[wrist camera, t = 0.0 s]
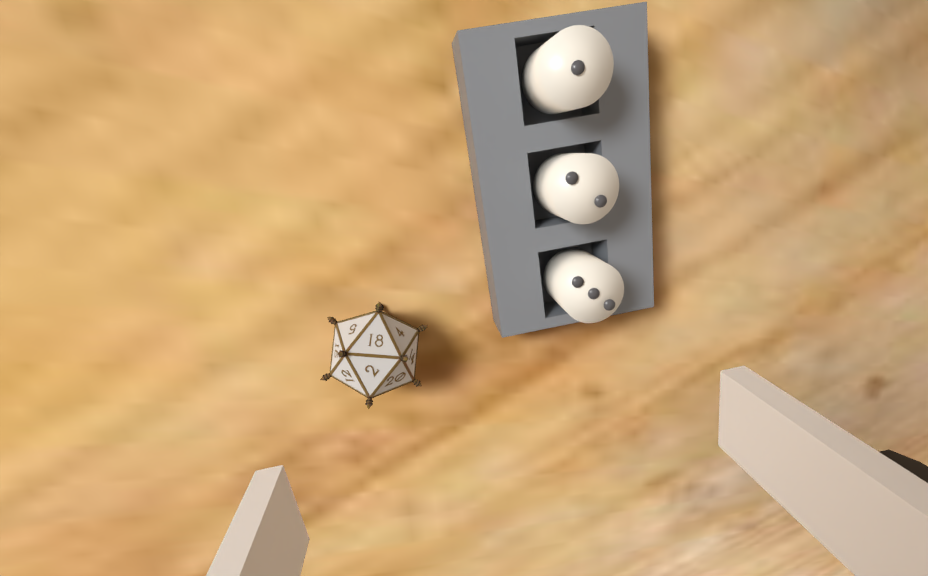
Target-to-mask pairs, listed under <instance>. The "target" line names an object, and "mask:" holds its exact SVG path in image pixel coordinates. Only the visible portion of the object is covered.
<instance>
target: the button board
mask: <svg viewBox="0 0 928 576" xmlns="http://www.w3.org/2000/svg"><path fill="white" fill-rule="evenodd" d="M574 25H585V26H589V27H591V28H594V29H595V30H597V31H598V32H600V33H601V34H602V35H603V36H604V37H605V39H606V40H607V42H608V43H609V45H610V48H611V50H612V54H613V61H614V68H613V74H612V78H611V81H610V84H609V86H608V88H607V89H606V91H605V92H604V94H603V95H602V96H601V97H600V98H599V99H598V100H597V101H595V102H594V103H593V104H591V105H589V106H586V107H583V108H579V109H575V110H570V111H566V112H562V113H558V114H546V113H542V112H540V111H538V110H536V109H535V108H534V107H533V106H532V105H531V104H530V103H529V102H528V100H527V99H526V97H525V95H524V92H523V88H522V72H523V68H524V65H525V63H526V61H527V59H528V58H529V56H530V55H531V54H532V53H533V52H534V51H535V50H536V49H538V48H539V47H540V46H541V45H543V44H544V43H545V42H547V41H548V40H549V39H550V38H552V37H553V36H554V35H556V34H557V33H558V32H560V31H561V30H563V29H565V28H567V27H569V26H574ZM452 48H453V54H454V61H455V68H456V74H457V81H458V87H459V94H460V101H461V107H462V114H463V121H464V127H465V134H466V140H467V147H468V154H469V160H470V167H471V173H472V180H473V187H474V193H475V200H476V207H477V213H478V220H479V226H480V233H481V240H482V246H483V253H484V259H485V266H486V273H487V279H488V286H489V293H490V299H491V306H492V312H493V319H494V322H495V324H496V326H497V328H498V330H499V332H500V334H501V336H502V337H507V336H512V335H517V334H522V333H527V332H532V331H537V330H542V329H547V328H552V327H557V326H562V325H567V324H572V323H576V322H579V321H577V320H575V319H573V318H572V317H571V316H570V315H569V314H568V313H567V312H566V311H565V310H564V309H563V308H562V307H561V306H560V305H559V304H558V303H557V302H556V301H555V300H554V299H553V298H552V297H551V296H550V295H549V294H548V292H547V291H546V289H545V286H544V282H543V274H544V270H545V267H546V265H547V263H548V262H549V260H550V259H551V258H552V257H553V256H554V255H555V254H557V253H558V252H560V251H562V250H564V249H568V248H578V249H582V250H584V251H586V252H588V253H590V254H592V255H593V256H595V257H597V258H599V259H600V260H602V261H604V262H606V263H607V264H609V265H611V266H613V267H614V268H615V269H616V270H617V271H618V272H619V273H620V275H621V277H622V279H623V283H624V295H623V298H622V301H621V303H620V305H619V307H618V308H617V309H616V311H615V312H614V313H613V314H612V315H616V314H621V313H626V312H631V311H636V310H641V309H646V308H650V307H654V285H653V243H652V201H651V160H650V118H649V76H648V34H647V2H642V3H635V4H629V5H622V6H616V7H609V8H602V9H596V10H589V11H583V12H576V13H570V14H563V15H557V16H550V17H544V18H537V19H531V20H524V21H517V22H511V23H504V24H498V25H491V26H485V27H478V28H472V29H465V30H459V31H457V33H456V35H455V38H454V40H453V42H452ZM559 153H593V154H597V155H600V156H602V157H604V158H606V159H607V160H609V161H610V162H611V163H612V165H613V166H614V168H615V170H616V172H617V174H618V178H619V193H618V197H617V200H616V202H615V204H614V206H613V207H612V209H611V210H610V211H609V212H608V213H607V214H606V215H605V216H604V217H603V218H601V219H600V220H598V221H596V222H593V223H590V224H575V223H572V222H570V221H568V220H565V219H563V218H561V217H558V216H556V215H554V214H552V213H549V212H547V211H546V210H544V209H543V208H542V207H541V206H540V205H539V203H538V202H537V200H536V198H535V195H534V191H533V182H534V177H535V174H536V172H537V170H538V168H539V167H540V165H541V164H542V163H543V162H544V161H545V160H546V159H548V158H549V157H551V156H553V155H555V154H559ZM610 316H611V315H610Z"/></svg>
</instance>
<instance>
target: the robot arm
mask: <svg viewBox="0 0 928 576" xmlns="http://www.w3.org/2000/svg"><path fill="white" fill-rule="evenodd" d="M718 446H719V447H720V448H721V449H722V450H723V451H724V452H726V453H727V454H728V455H729V456H730V457H731V458H732V459H733V460H734V461H735V462H736V463H737V464H738V465H739V466H740V467H741V468H742V469H743V470H744V471H745V472H747V473H748V474H749V475H750V476H751V477H752V478H753V479H754V480H755V481H756V482H757V483H758V484H759V485H760V486H761V487H762V488H763V489H764V490H765V491H767V492H768V493H769V494H770V495H771V496H772V497H773V498H774V499H775V500H776V501H777V502H778V503H779V504H780V505H781V506H782V507H783V508H784V509H785V510H786V511H788V512H789V513H790V514H791V515H792V516H793V517H794V518H795V519H796V520H797V521H798V522H799V523H800V524H801V525H802V526H803V527H804V528H805V529H806V530H808V531H809V532H810V533H811V534H812V535H813V536H814V537H815V538H816V539H817V540H818V541H819V542H820V543H821V544H822V545H823V546H824V547H825V548H826V549H827V550H829V551H830V552H831V553H832V554H833V555H834V556H835V557H836V558H837V559H838V560H839V561H840V562H841V563H842V564H843V565H844V566H845V567H846V568H847V569H849V570H850V571H851V572H852V573H853V574H854V575H855V576H928V467H927V466H926V465H924V464H922V463H921V462H918V461H916V460H913V459H911V458H908V457H906V456H903V455H901V454H898V453H896V452H893V451H891V450H885V451H881V452H878V451H877V450H875V449H874V448H872V447H871V446H869V445H867V444H866V443H864V442H863V441H861V440H860V439H858V438H856V437H855V436H853V435H852V434H850V433H849V432H847V431H846V430H844V429H842V428H841V427H839V426H838V425H836V424H835V423H833V422H832V421H830V420H828V419H827V418H825V417H824V416H822V415H821V414H819V413H817V412H816V411H814V410H813V409H811V408H810V407H808V406H807V405H805V404H803V403H802V402H800V401H799V400H797V399H796V398H794V397H792V396H791V395H789V394H788V393H786V392H785V391H783V390H782V389H780V388H778V387H777V386H775V385H774V384H772V383H771V382H769V381H768V380H766V379H764V378H763V377H761V376H760V375H758V374H757V373H755V372H753V371H752V370H750V369H749V368H747V367H746V366H740V367H735V368H731V369H726V370H721V371H720V404H719V438H718ZM308 543H309V536H308V533H307V530H306V528H305V525H304V522H303V519H302V516H301V514H300V511H299V508H298V505H297V503H296V500H295V497H294V494H293V491H292V489H291V486H290V483H289V480H288V478H287V475H286V472H285V469H284V466H283V465H280V466H276V467H271V468H267V469H262V470H257V471H255V473H254V475H253V477H252V479H251V481H250V484H249V486H248V488H247V490H246V492H245V494H244V496H243V498H242V501H241V503H240V505H239V507H238V509H237V511H236V513H235V515H234V518H233V520H232V522H231V524H230V526H229V528H228V530H227V532H226V535H225V537H224V539H223V541H222V543H221V545H220V547H219V549H218V552H217V554H216V556H215V558H214V560H213V562H212V564H211V566H210V568H209V571H208V573H207V575H206V576H300V575H301V571H302V567H303V563H304V559H305V555H306V551H307V547H308Z"/></svg>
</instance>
